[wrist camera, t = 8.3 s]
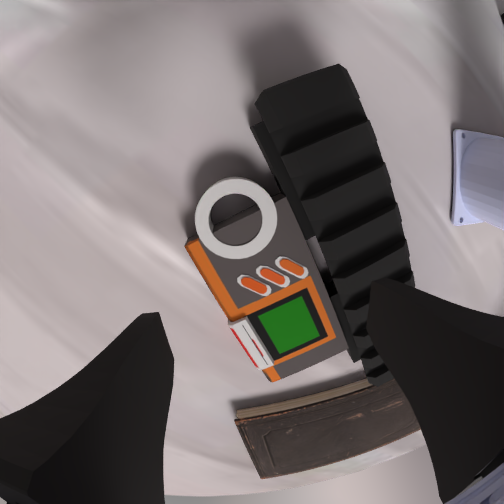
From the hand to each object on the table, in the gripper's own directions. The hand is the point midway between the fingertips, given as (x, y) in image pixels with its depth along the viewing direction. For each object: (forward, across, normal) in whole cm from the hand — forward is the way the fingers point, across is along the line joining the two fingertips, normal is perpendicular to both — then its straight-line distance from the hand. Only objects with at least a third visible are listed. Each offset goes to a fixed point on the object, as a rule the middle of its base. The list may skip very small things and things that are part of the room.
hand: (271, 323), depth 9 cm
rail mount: (+10, -7, +1) cm, 13 cm away
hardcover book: (+11, -9, +24) cm, 28 cm away
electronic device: (+11, -1, +4) cm, 11 cm away
